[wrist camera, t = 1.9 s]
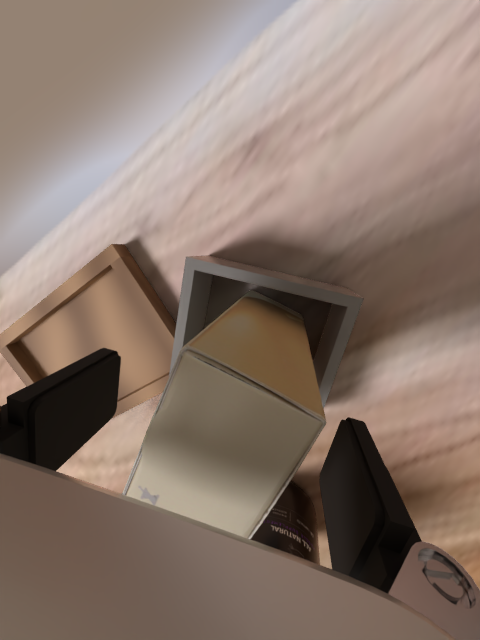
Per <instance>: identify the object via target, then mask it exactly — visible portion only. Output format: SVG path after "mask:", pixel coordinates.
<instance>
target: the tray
mask: <svg viewBox="0 0 480 640" xmlns="http://www.w3.org/2000/svg"><path fill="white" fill-rule="evenodd" d="M175 330H176V323H175V322H174V320H173V319H172V317H171V315H170V314H169V312H168V311H167V309H166V308H165V306H164V305H163V303H162V302H161V300H160V299H159V297H158V296H157V294H156V292H155V291H154V289H153V288H152V286H151V285H150V283H149V282H148V280H147V279H146V277H145V276H144V274H143V273H142V271H141V270H140V268H139V266H138V265H137V263H136V262H135V260H134V259H133V257H132V256H131V254H130V253H129V251H128V250H127V248H126V247H125V245H122V244H111V245H110V246H109V247H108V248H106V249H105V250H104V251H103V252H101V253H100V254H99V255H98V256H96V257H95V258H94V259H93V260H91V261H90V262H89V263H88V264H87V265H85V266H84V267H83V268H82V269H80V270H79V271H78V272H77V273H75V274H74V275H73V276H72V277H71V278H69V279H68V280H67V281H66V282H64V283H63V284H62V285H61V286H59V287H58V288H57V289H56V290H54V291H53V292H52V293H51V294H50V295H48V296H47V297H46V298H45V299H43V300H42V301H41V302H40V303H38V304H37V305H36V306H35V307H33V308H32V309H31V310H30V311H29V312H27V313H26V314H25V315H24V316H22V317H21V318H20V319H19V320H17V321H16V322H15V323H14V324H12V325H11V326H10V327H9V328H8V329H6V330H5V331H4V332H3V333H1V334H0V353H1V354H2V355H3V357H4V358H5V359H6V360H7V362H8V363H9V364H10V366H11V367H12V368H13V370H14V371H15V372H16V373H17V375H18V376H19V377H20V379H21V380H22V381H23V383H24V384H25V385H26V386H29V385H31V384H33V383H35V382H37V381H39V380H41V379H43V378H45V377H47V376H49V375H50V374H52V373H54V372H56V371H58V370H60V369H62V368H64V367H66V366H68V365H70V364H72V363H74V362H76V361H78V360H80V359H82V358H84V357H86V356H87V355H89V354H91V353H93V352H95V351H97V350H99V349H101V348H107V349H111V350H114V351H117V352H118V355H119V356H121V366H120V377H119V389H118V400H117V410H116V413H115V415H114V416H113V417H115V416H117V415H119V414H121V413H123V412H125V411H127V410H129V409H131V408H133V407H135V406H137V405H139V404H141V403H143V402H144V401H146V400H148V399H150V398H152V397H154V396H156V395H158V394H160V393H162V392H163V391H164V388H165V386H166V383H167V381H168V379H169V372H170V365H171V358H172V351H173V344H174V337H175ZM113 417H112V418H113Z"/></svg>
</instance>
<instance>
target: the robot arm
mask: <svg viewBox="0 0 480 640" xmlns="http://www.w3.org/2000/svg"><path fill="white" fill-rule="evenodd" d="M120 366H121V356H119V355H118V352H117V351H114V350H111V349H107V348H101V349H99V350H97V351H95V352H93V353H91V354H89V355H87V356H86V357H84V358H82V359H80V360H78V361H76V362H74V363H72V364H70V365H68V366H66V367H64V368H62V369H60V370H58V371H56V372H54V373H52V374H50V375H49V376H47V377H45V378H43V379H41V380H39V381H37V382H35V383H33V384H31V385H29V386H27V387H25V388H23V389H21V390H19V391H17V392H15V393H13V394H12V395H10V396H8V397H7V404H5V405H3V406H0V640H480V590H479V588H478V587H477V585H476V584H475V582H474V581H473V579H472V577H471V576H470V575H469V574H468V573H467V571H466V570H465V569H464V568H463V567H462V566H461V565H460V564H459V563H458V562H457V561H456V560H455V559H454V558H453V557H452V556H450V555H449V554H448V553H446V552H445V551H443V550H442V549H441V548H439V547H437V546H435V545H433V544H430V543H426V542H422V541H421V539H420V537H419V535H418V532H417V530H416V528H415V526H414V524H413V522H412V520H411V518H410V516H409V514H408V511H407V509H406V507H405V505H404V503H403V501H402V499H401V497H400V495H399V492H398V490H397V488H396V486H395V484H394V482H393V480H392V478H391V476H390V473H389V471H388V470H387V468H386V466H385V465H384V463H383V460H382V458H381V456H380V454H379V452H378V450H377V448H376V446H375V443H374V441H373V439H372V437H371V435H370V433H369V431H368V429H367V426H366V424H365V423H364V422H363V421H359V420H356V419H352V418H349V417H348V418H347V419H346V420H341V422H340V424H339V427H338V429H337V432H336V434H335V437H334V439H333V442H332V445H331V447H330V450H329V452H328V455H327V458H326V460H325V463H324V465H323V468H322V470H321V473H320V489H321V496H322V503H323V509H324V516H325V523H326V529H327V536H328V543H329V549H330V556H331V563H332V569H329V568H326V567H324V566H321V565H318V564H316V563H313V562H310V561H308V560H305V559H303V558H300V557H297V556H295V555H292V554H289V553H287V552H284V551H281V550H278V549H275V548H273V547H270V546H267V545H264V544H261V543H259V542H256V541H253V540H250V539H248V538H245V537H242V536H239V535H236V534H234V533H231V532H228V531H225V530H222V529H220V528H217V527H214V526H211V525H208V524H206V523H203V522H200V521H197V520H194V519H191V518H189V517H186V516H183V515H180V514H177V513H174V512H171V511H169V510H166V509H163V508H160V507H157V506H154V505H152V504H149V503H146V502H143V501H140V500H137V499H134V498H132V497H129V496H126V495H123V494H120V493H117V492H114V491H111V490H109V489H106V488H103V487H100V486H97V485H94V484H91V483H88V482H85V481H82V480H79V479H76V478H74V477H71V476H68V475H65V474H62V473H59V472H56V470H58V469H59V468H60V467H61V466H62V465H63V464H64V463H65V462H66V461H67V460H68V459H69V458H70V457H71V456H72V455H73V454H74V453H75V452H77V451H78V450H79V449H80V448H81V447H82V446H83V445H84V444H85V443H86V442H87V441H88V440H89V439H90V438H91V437H92V436H93V435H95V434H96V433H97V432H98V431H99V430H100V429H101V428H102V427H103V426H104V425H105V424H106V423H107V422H108V421H109V420H110V419H111V418H112V417H113V416H114V415H115V413H116V410H117V400H118V389H119V377H120Z"/></svg>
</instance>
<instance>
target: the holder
mask: <svg viewBox="0 0 480 640" xmlns="http://www.w3.org/2000/svg"><path fill="white" fill-rule="evenodd" d="M213 275H217V276H222V277H226V278H230V279H234V280H238V281H242V282H246V283H251V284H255V285H259V286H263V287H267V288H271V289H275V290H279V291H284V292H288V293H292V294H296V295H300V296H304V297H308V298H312V299H317V300H321V301H325V302H329V303H332V306H331V309H330V312H329V315H328V318H327V321H326V324H325V327H324V330H323V333H322V336H321V339H320V342H319V345H318V348H317V351H316V354H315V357H314V360H313V365H314V369H315V374H316V379H317V383H318V387H319V391H320V396H321V401H322V406H323V409H324V406H325V403H326V400H327V398H328V395H329V392H330V389H331V387H332V384H333V381H334V379H335V376H336V373H337V370H338V368H339V365H340V362H341V359H342V357H343V354H344V351H345V348H346V346H347V343H348V340H349V337H350V335H351V332H352V329H353V326H354V324H355V321H356V318H357V316H358V313H359V310H360V307H361V305H362V302H363V298H362V297H360V296H359V295H357V294H356V293H354V292H353V291H351V290H350V289H348V288H346V287H341V286H337V285H333V284H328V283H324V282H320V281H316V280H311V279H307V278H303V277H298V276H294V275H290V274H286V273H281V272H277V271H273V270H268V269H264V268H260V267H255V266H251V265H247V264H243V263H238V262H234V261H230V260H225V259H221V258H217V257H213V256H191V257H186V260H185V267H184V274H183V281H182V288H181V295H180V302H179V309H178V316H177V323H176V330H175V337H174V344H173V351H172V358H171V365H170V372H169V376H170V374H171V371H172V369H173V367H174V364H175V362H176V360H177V357H178V355H179V352H180V350H181V349H182V347H183V346H184V345H186V344H187V343H188V342H189V341H190V340H192V339H193V338H194V337H195V336H196V335H198V334H199V333H200V332H201V331H202V330H203V329H204V323H205V318H206V312H207V306H208V301H209V295H210V289H211V284H212V278H213Z"/></svg>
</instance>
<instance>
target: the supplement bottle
mask: <svg viewBox="0 0 480 640" xmlns="http://www.w3.org/2000/svg"><path fill="white" fill-rule="evenodd" d="M250 540H253V541H256V542H259V543H261V544H264V545H267V546H270V547H273V548H275V549H278V550H281V551H284V552H287V553H289V554H292V555H295V556H297V557H300V558H303V559H305V560H308V561H310V562H313V563H316V564H318V565H320V558H319V546H318V533H317V522H316V514H315V509H314V506H313V504H312V502H311V500H310V499H309V497H308V496H307V495H306V493H305V492H304V491H303V490H301V489H300V488H299V487H298V486H296V485H295V484H293V483H291V482H289V484H288V485H287V487H286V488H285V490H284V492H283V493H282V495H281V496H280V498H279V499H278V500H277V502H276V504H275V505H274V506H273V508H272V509H271V511H270V512H269V514H268V515H267V517H266V518H265V520H264V521H263V523H262V524H261V525H260V527H259V528H258V530H257V531H256V532H255V534H254V535H253V536H252V538H251V539H250Z"/></svg>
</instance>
